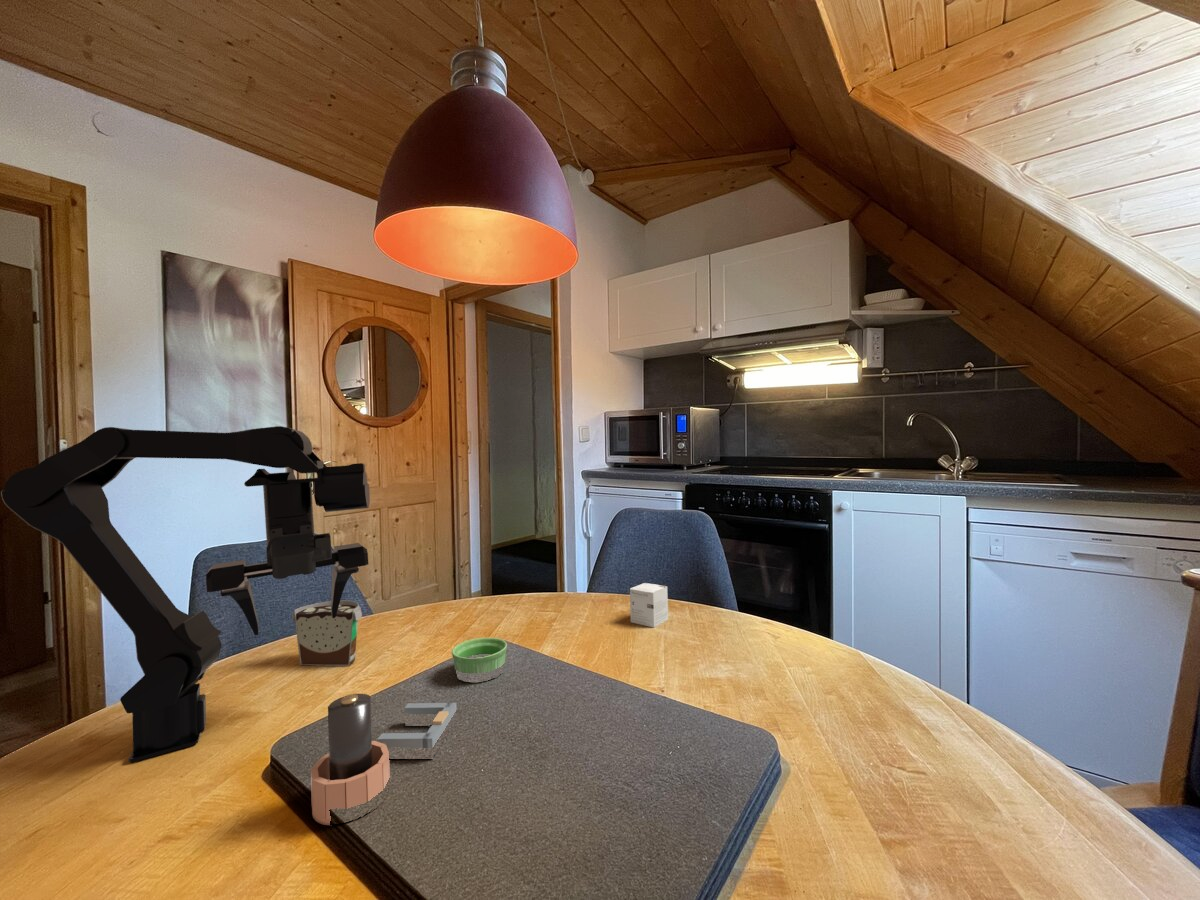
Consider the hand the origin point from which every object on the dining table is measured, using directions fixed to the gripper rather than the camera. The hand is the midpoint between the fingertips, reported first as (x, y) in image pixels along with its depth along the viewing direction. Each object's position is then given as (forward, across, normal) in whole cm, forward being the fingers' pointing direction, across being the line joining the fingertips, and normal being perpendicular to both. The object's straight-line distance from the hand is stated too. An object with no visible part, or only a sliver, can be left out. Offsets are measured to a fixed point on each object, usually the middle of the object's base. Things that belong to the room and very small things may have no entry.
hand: (296, 625), depth 68 cm
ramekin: (+14, +25, -2) cm, 29 cm away
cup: (+13, +3, -23) cm, 27 cm away
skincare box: (+16, +63, -1) cm, 65 cm away
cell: (+13, +3, -23) cm, 27 cm away
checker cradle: (+13, +11, -16) cm, 24 cm away
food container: (+13, +6, +21) cm, 25 cm away
